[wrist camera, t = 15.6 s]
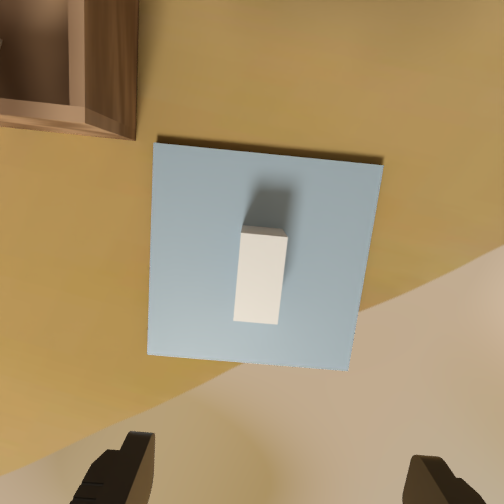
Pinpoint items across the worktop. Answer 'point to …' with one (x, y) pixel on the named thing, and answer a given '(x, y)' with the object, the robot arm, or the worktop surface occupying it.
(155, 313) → the lid
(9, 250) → the worktop surface
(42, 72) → the box
